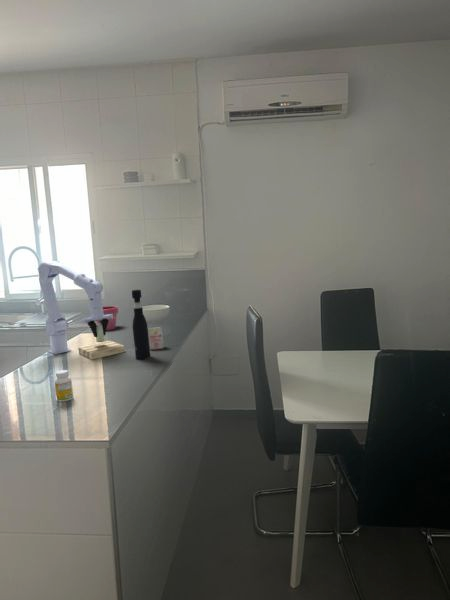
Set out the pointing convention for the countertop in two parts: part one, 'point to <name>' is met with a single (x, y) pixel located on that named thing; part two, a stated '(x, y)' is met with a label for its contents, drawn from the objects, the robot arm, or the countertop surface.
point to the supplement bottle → (63, 386)
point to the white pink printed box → (155, 338)
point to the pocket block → (101, 349)
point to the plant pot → (110, 310)
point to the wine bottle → (140, 329)
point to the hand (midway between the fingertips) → (99, 335)
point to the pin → (99, 333)
